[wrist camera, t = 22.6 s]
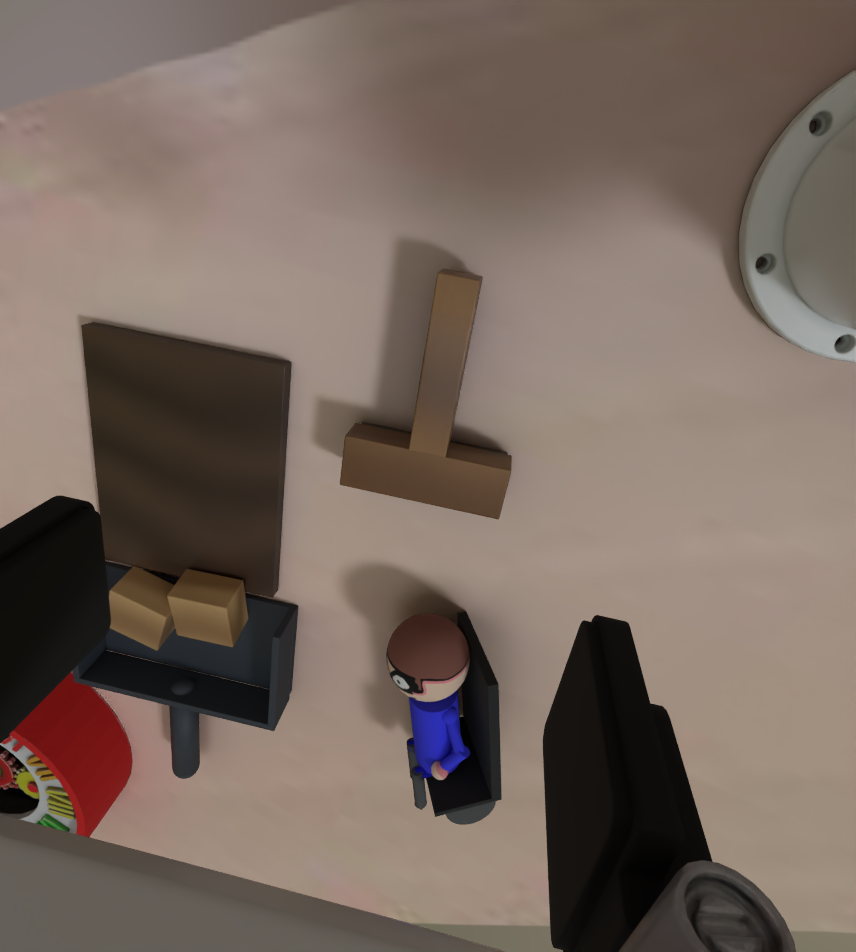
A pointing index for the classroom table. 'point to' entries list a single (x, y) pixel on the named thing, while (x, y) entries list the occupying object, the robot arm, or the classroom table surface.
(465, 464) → the brush
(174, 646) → the dustpan
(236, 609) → the cork chip
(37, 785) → the toy clock
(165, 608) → the cork chip
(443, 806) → the character figurine
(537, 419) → the classroom table surface
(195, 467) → the tray
